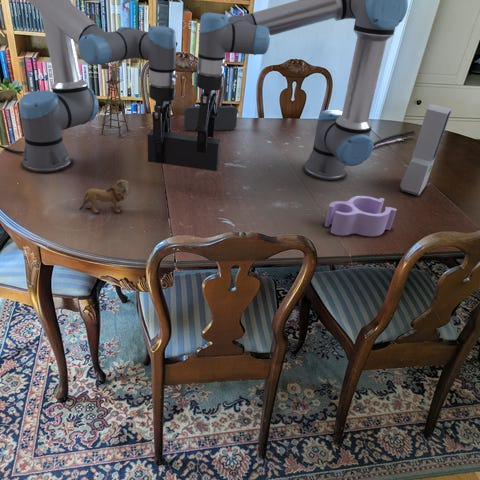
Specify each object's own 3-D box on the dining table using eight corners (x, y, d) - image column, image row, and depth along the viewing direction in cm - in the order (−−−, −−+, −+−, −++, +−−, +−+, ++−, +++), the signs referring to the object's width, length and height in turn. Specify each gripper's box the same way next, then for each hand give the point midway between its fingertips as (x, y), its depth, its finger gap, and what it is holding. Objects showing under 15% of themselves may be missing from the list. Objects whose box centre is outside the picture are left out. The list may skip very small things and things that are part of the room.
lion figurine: (129, 202, 142) (128, 176, 137) (131, 211, 138) (130, 184, 133) (78, 207, 137) (75, 179, 132) (79, 216, 133) (76, 188, 128)
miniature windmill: (120, 137, 185) (116, 58, 169) (100, 134, 186) (94, 55, 170) (129, 130, 193) (126, 54, 176) (110, 127, 194) (105, 51, 177)
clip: (337, 240, 135) (342, 219, 131) (318, 218, 145) (322, 198, 141) (395, 233, 141) (402, 213, 137) (373, 213, 151) (378, 194, 147)
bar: (147, 161, 147) (147, 134, 143) (151, 156, 151) (151, 129, 146) (216, 171, 146) (218, 144, 141) (218, 165, 150) (220, 139, 145)
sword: (410, 136, 218) (410, 134, 218) (415, 138, 216) (416, 136, 216) (366, 148, 203) (366, 145, 202) (371, 151, 201) (372, 148, 200)
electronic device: (418, 197, 164) (446, 113, 148) (397, 190, 167) (423, 108, 151) (426, 185, 173) (454, 105, 157) (406, 179, 176) (431, 100, 160)
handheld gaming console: (234, 127, 207) (236, 105, 202) (236, 129, 205) (238, 107, 200) (183, 128, 200) (184, 105, 195) (185, 131, 198) (185, 107, 192)
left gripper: (167, 94, 129) (166, 171, 141) (181, 79, 143) (179, 150, 156) (140, 91, 129) (142, 168, 142) (157, 76, 144) (158, 147, 156)
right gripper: (216, 86, 122) (210, 161, 133) (229, 66, 143) (223, 132, 154) (187, 82, 122) (184, 157, 134) (205, 62, 143) (201, 129, 155)
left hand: (162, 158), depth 149 cm, fingers closed on bar, 4 cm apart
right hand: (205, 144), depth 144 cm, fingers open, 13 cm apart
